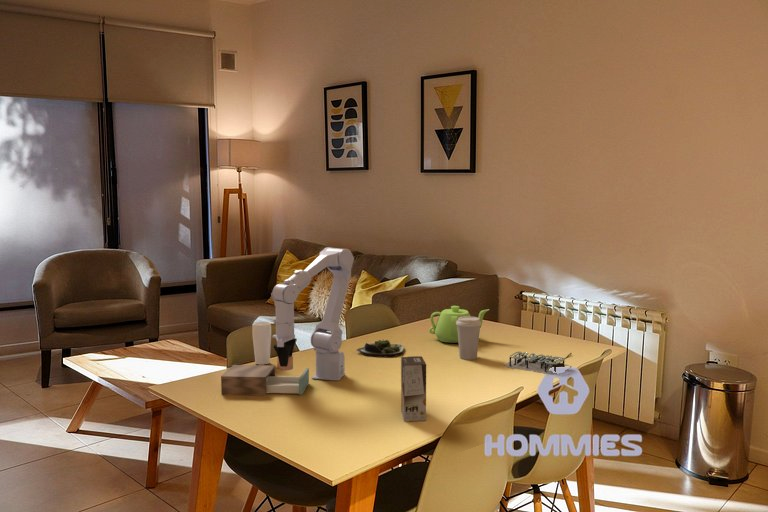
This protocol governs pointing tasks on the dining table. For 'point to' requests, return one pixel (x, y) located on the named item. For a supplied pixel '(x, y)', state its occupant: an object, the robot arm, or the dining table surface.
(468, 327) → the coffee cup
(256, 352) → the white tall block
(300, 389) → the tray
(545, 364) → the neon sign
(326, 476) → the dining table surface
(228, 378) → the cabinet
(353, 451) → the dining table surface
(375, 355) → the salad plate
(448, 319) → the teapot
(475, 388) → the dining table surface
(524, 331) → the dining table surface
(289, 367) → the puck
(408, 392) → the coffee box
